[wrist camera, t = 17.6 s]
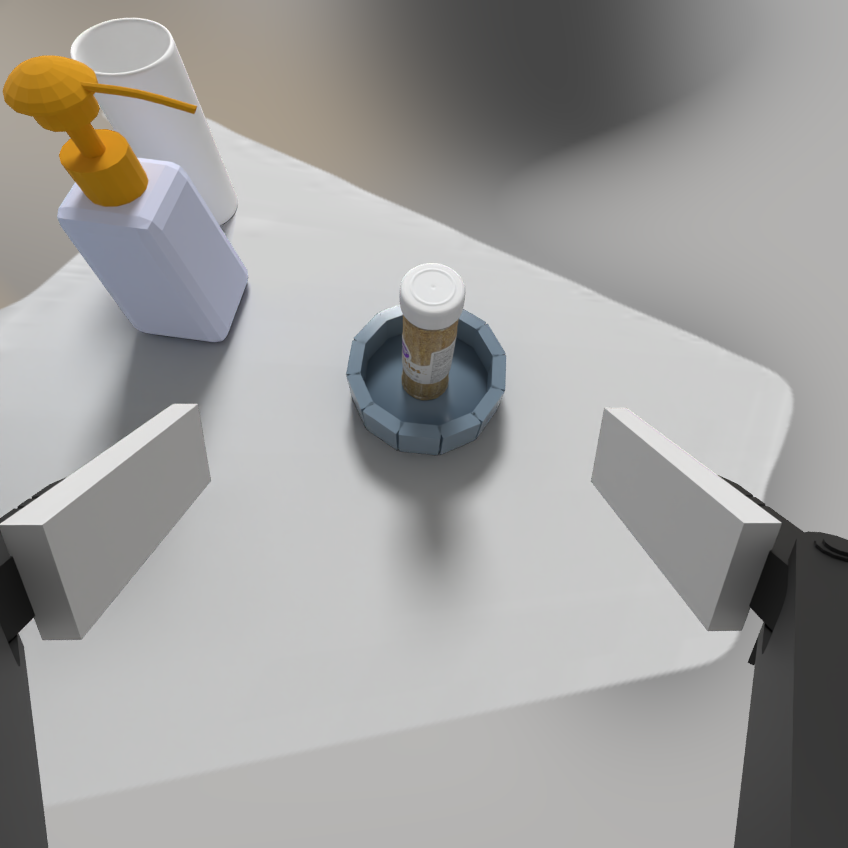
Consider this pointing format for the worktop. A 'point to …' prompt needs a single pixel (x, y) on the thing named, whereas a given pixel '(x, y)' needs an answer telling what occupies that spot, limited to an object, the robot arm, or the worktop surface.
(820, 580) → the robot arm
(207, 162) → the cup
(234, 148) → the worktop surface
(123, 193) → the soap bottle
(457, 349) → the bowl
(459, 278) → the sprinkles bottle
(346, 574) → the worktop surface
